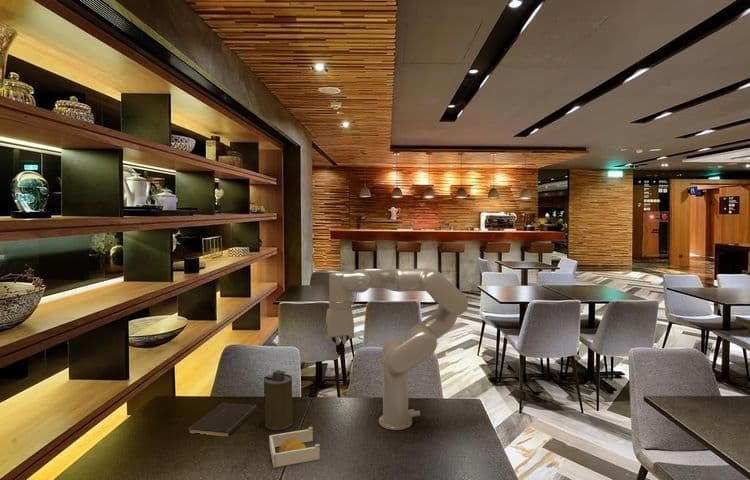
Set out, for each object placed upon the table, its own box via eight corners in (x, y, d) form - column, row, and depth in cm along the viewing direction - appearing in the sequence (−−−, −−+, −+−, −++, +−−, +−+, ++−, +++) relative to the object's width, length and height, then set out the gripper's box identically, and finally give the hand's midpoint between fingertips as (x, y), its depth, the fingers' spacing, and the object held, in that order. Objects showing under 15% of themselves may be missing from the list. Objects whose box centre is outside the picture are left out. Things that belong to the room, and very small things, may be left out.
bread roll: (291, 464, 139) (291, 452, 138) (275, 453, 145) (275, 442, 145) (312, 454, 144) (312, 442, 144) (296, 444, 151) (295, 433, 150)
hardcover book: (188, 434, 159) (188, 428, 159) (222, 407, 181) (222, 402, 181) (228, 438, 156) (228, 432, 155) (258, 410, 178) (258, 405, 178)
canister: (298, 419, 169) (297, 368, 168) (284, 432, 159) (283, 377, 158) (273, 415, 173) (272, 365, 172) (258, 427, 163) (257, 374, 162)
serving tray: (312, 439, 154) (312, 426, 153) (319, 459, 141) (319, 445, 141) (269, 446, 149) (269, 433, 149) (273, 467, 136) (273, 453, 136)
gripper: (356, 302, 168) (356, 349, 169) (317, 304, 163) (318, 353, 164) (362, 305, 161) (362, 355, 162) (322, 308, 156) (322, 359, 157)
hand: (340, 354), depth 163 cm, fingers closed
